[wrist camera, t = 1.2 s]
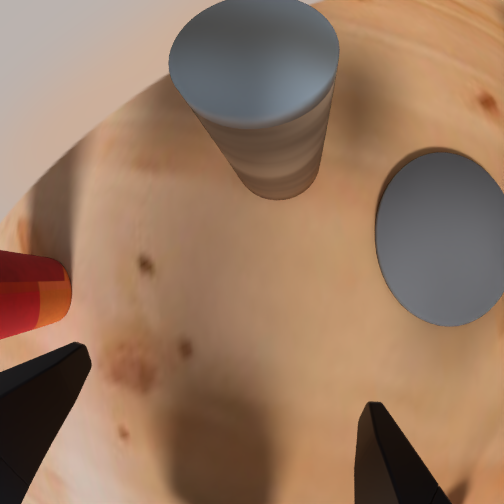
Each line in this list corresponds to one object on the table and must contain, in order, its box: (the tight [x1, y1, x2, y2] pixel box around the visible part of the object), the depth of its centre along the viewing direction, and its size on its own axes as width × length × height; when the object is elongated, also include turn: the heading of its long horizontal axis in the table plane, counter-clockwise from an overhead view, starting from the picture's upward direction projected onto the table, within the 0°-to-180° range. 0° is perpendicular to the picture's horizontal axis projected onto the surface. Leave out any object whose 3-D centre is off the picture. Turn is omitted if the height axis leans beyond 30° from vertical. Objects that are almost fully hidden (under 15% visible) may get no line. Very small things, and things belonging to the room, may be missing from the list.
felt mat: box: [375, 152, 504, 326], centre depth 18 cm, size 12×12×1 cm
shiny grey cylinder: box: [169, 0, 339, 200], centre depth 14 cm, size 6×6×12 cm
